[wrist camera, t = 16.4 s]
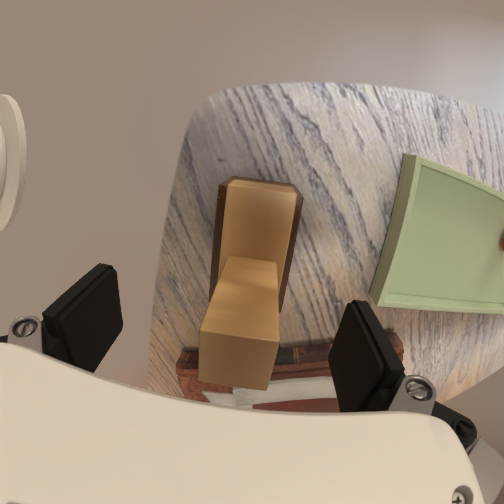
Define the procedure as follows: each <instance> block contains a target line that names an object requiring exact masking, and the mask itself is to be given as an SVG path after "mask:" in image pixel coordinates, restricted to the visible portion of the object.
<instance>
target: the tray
mask: <svg viewBox="0 0 504 504" xmlns="http://www.w3.org/2000/svg"><path fill="white" fill-rule="evenodd" d="M503 238H504V194H503V193H501V192H499V191H497V190H496V189H494V188H492V187H490V186H488V185H486V184H484V183H482V182H480V181H478V180H475V179H473V178H471V177H469V176H467V175H465V174H462V173H460V172H458V171H455V170H453V169H451V168H448V167H446V166H443V165H441V164H438V163H436V162H433V161H431V160H428V159H425V158H422V157H420V156H417V155H406V154H404V155H403V162H402V168H401V173H400V179H399V184H398V189H397V194H396V198H395V203H394V207H393V212H392V216H391V220H390V224H389V228H388V232H387V236H386V239H385V243H384V247H383V250H382V254H381V257H380V261H379V264H378V267H377V270H376V273H375V277H374V280H373V283H372V286H371V289H370V292H369V294H370V296H371V297H372V299H373V301H374V302H375V304H376V306H381V307H382V306H383V307H393V308H405V309H418V310H431V311H447V312H464V313H487V314H504V251H503V247H502V242H503Z"/></svg>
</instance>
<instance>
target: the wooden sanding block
mask: <svg viewBox="0 0 504 504" xmlns="http://www.w3.org/2000/svg"><path fill="white" fill-rule="evenodd" d="M296 200H297V193H296V192H295V190H294V189H293V188H292V187H289V186H285V185H278V184H272V183H265V182H258V181H251V180H243V179H234V180H233V181H232V182H230V183H229V184H228V185H227V193H226V202H225V211H224V220H223V230H222V240H221V250H220V261H219V272H218V282H217V285H216V287H215V290H214V293H213V295H212V298H211V300H210V303H209V306H208V308H207V311H206V313H205V316H204V319H203V321H202V324H201V327H200V329H199V371H198V379H199V381H202V382H208V383H213V384H219V385H225V386H231V387H238V388H245V389H252V390H261V391H266V390H267V388H268V385H269V381H270V378H271V374H272V370H273V366H274V363H275V359H276V355H277V351H278V347H279V343H280V328H279V301H278V295H279V291H280V286H281V281H282V276H283V271H284V265H285V260H286V255H287V250H288V244H289V239H290V234H291V228H292V223H293V217H294V211H295V206H296Z"/></svg>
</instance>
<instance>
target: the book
mask: <svg viewBox="0 0 504 504" xmlns="http://www.w3.org/2000/svg"><path fill="white" fill-rule="evenodd" d="M386 335H387V336H388V338H389V340H390V342H391V344H392V345H393V347H394V349H395V351H396V353H397V355H398V357H399V358H400V360H401V362H402V360H403V354H402V353H404V350H403V344H402V342H401V340H400V339H399V337H398V336H397V334H396V333H395V332H394V333H389V334H386ZM332 344H333V343H329V344H322V345H313V346H305V347H295V348H285V349H278V351H277V355H276V359H275V363H274V366H273V370H272V374H271V378H270V381H269V385H268V388H267V390H266V391H261V390H252V389H245V388H238V387H231V386H225V385H219V384H213V383H208V382H202V381H199V379H198V371H199V353H181V355H180V357H179V359H178V361H177V363H176V374H178V376H177V378H178V381H179V384H180V386H181V389H182V391H183V394H184V396H185V398H186V399H190V400H195V401H200V402H206V403H212V404H218V405H225V406H232V407H240V408H249V409H259V410H270V411H285V412H312V413H340V409H339V404H338V400H337V396H336V391H335V387H334V383H333V379H332V375H331V371H330V367H329V363H328V355H329V352H330V350H331V347H332Z"/></svg>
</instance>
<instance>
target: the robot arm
mask: <svg viewBox="0 0 504 504" xmlns="http://www.w3.org/2000/svg"><path fill="white" fill-rule="evenodd" d="M6 164H7V155H6V142H5V137H4V132H3V129H2V126H1V124H0V199H1V197H2V193H3V190H4V184H5V178H6ZM42 315H43V318H44V319H43V320H42V321H40V320H39V319H38V318H37V317H35V316H23V317H20V318H18V319H16V320H15V321H14V322H13V323H12V324H11V325H10V328H9V332H8V335H6V336H1V337H0V504H493V503H494V501H495V500H496V498H497V496H498V494H499V492H500V491H501V489H502V487H503V485H504V457H503V456H501V455H500V454H499V453H498V452H497V451H496V450H495V449H494V448H493V447H491V446H490V445H489V444H488V443H487V442H486V441H485V440H484V439H482V438H481V437H480V438H478V439H477V438H476V437H477V431H476V427H475V425H474V423H473V422H472V421H471V420H470V419H468V418H467V417H465V416H463V415H461V414H459V413H457V412H455V411H453V410H451V409H450V408H448V407H446V406H444V405H442V404H440V403H438V402H437V401H435V399H436V390H435V387H434V386H433V384H432V383H431V382H430V381H429V380H428V379H426V378H424V377H422V376H419V375H408V376H407V377H406V375H405V373H404V370H405V368H404V366H403V364H402V362H401V360H400V358H399V357H398V355H397V353H396V351H395V349H394V347H393V345H392V344H391V342H390V340H389V338H388V336H387V335H386V333H385V331H384V329H383V328H382V326H381V324H380V322H379V321H378V319H377V317H376V315H375V314H374V312H373V310H372V309H371V307H370V305H369V304H368V302H367V301H359V300H353V301H352V302H351V303H348V304H347V306H346V309H345V312H344V315H343V317H342V320H341V323H340V326H339V329H338V331H337V334H336V337H335V339H334V342H333V344H332V347H331V350H330V352H329V355H328V363H329V367H330V371H331V375H332V379H333V383H334V387H335V391H336V396H337V400H338V404H339V409H340V413H312V412H285V411H270V410H259V409H249V408H240V407H232V406H225V405H218V404H212V403H206V402H200V401H195V400H190V399H185V398H180V397H175V396H171V395H166V394H162V393H158V392H154V391H150V390H146V389H142V388H139V387H135V386H132V385H128V384H125V383H122V382H118V381H115V380H112V379H109V378H106V377H103V376H100V375H97V374H94V372H95V370H96V368H97V367H98V365H99V364H100V362H101V361H102V359H103V358H104V356H105V355H106V353H107V352H108V350H109V348H110V347H111V345H112V344H113V343H114V341H115V340H116V338H117V337H118V335H119V334H120V332H121V331H122V327H123V320H122V313H121V306H120V298H119V290H118V280H117V272H116V270H114V269H113V266H111V265H107V264H101V263H99V264H98V265H97V266H95V267H94V268H93V269H92V270H90V271H89V272H88V273H87V274H85V275H84V276H83V277H82V278H81V279H80V280H78V281H77V282H76V283H75V284H74V285H73V286H71V287H70V288H69V289H68V290H67V291H66V292H65V293H64V294H62V295H61V296H60V297H59V298H58V299H57V300H56V301H55V302H54V303H52V304H51V305H50V306H49V307H48V308H47V309H46V310H45V311H44V312H43V313H42Z"/></svg>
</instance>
